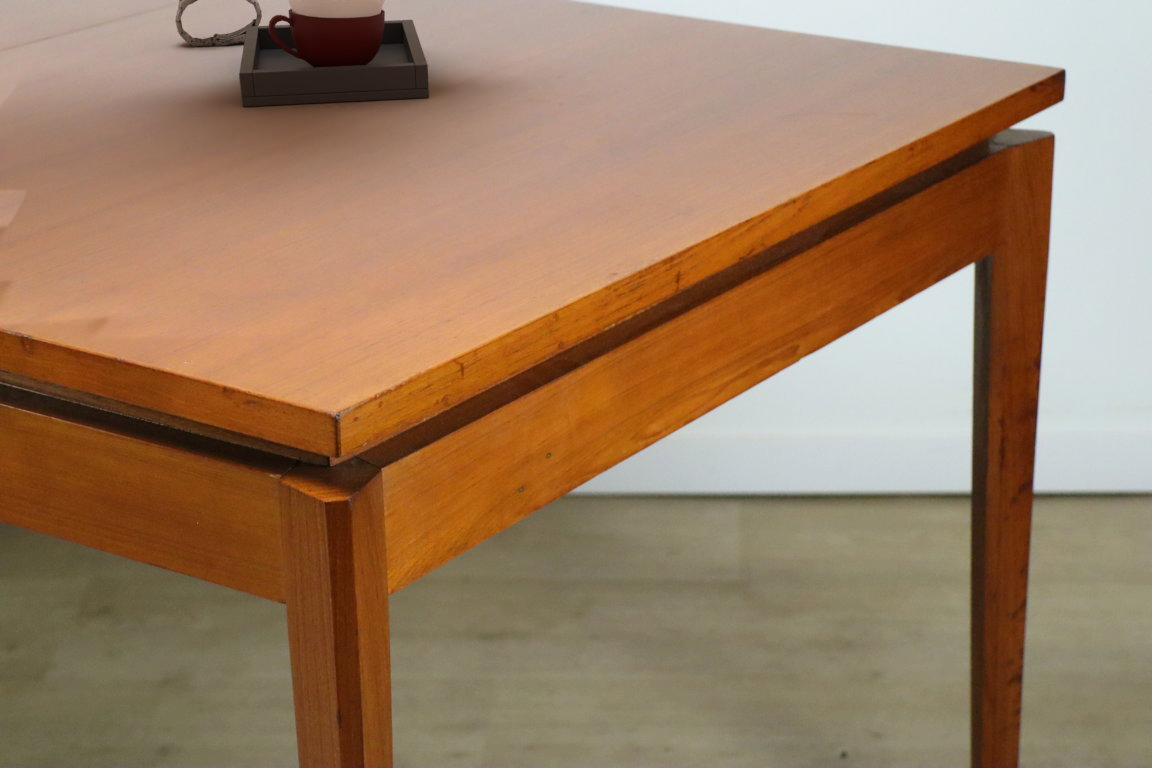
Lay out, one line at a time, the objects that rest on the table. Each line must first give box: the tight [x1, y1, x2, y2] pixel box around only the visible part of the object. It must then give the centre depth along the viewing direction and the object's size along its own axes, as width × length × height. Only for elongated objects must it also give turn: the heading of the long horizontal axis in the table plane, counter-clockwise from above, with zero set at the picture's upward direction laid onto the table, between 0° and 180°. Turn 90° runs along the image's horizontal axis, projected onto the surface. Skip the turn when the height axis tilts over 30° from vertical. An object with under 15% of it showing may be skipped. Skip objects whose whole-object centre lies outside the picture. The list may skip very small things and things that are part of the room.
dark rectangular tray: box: [238, 19, 430, 108], centre depth 101 cm, size 12×15×2 cm
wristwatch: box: [174, 0, 263, 48], centre depth 110 cm, size 4×6×5 cm, turn 100°
